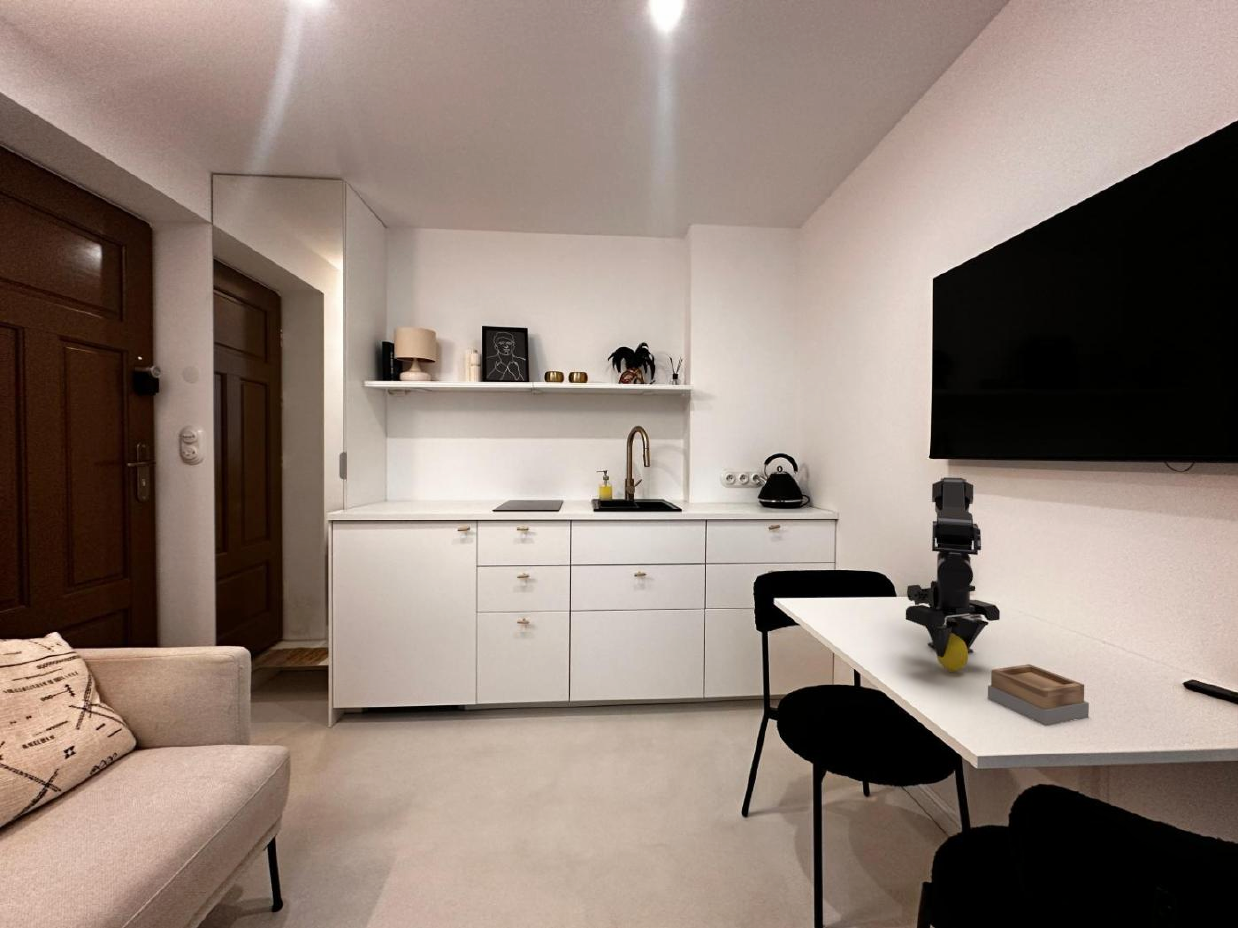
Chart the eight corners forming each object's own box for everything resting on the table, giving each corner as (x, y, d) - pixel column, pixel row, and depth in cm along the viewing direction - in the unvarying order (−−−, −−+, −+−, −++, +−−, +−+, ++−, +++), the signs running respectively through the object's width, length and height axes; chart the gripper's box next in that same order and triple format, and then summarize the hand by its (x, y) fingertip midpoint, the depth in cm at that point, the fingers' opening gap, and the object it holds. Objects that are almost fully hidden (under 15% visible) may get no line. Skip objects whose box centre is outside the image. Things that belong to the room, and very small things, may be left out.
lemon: (963, 668, 111) (964, 630, 111) (971, 679, 106) (971, 639, 105) (932, 665, 113) (933, 627, 113) (939, 675, 107) (939, 635, 107)
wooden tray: (1028, 680, 100) (1029, 664, 100) (1084, 702, 91) (1084, 684, 91) (991, 686, 97) (991, 669, 97) (1044, 709, 88) (1044, 691, 88)
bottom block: (1028, 694, 100) (1028, 678, 100) (1088, 720, 91) (1088, 702, 91) (987, 701, 98) (987, 685, 97) (1045, 729, 88) (1045, 710, 88)
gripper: (953, 567, 119) (952, 637, 120) (885, 572, 114) (884, 645, 114) (1002, 579, 109) (1000, 655, 109) (929, 585, 103) (928, 665, 103)
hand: (951, 654), depth 109 cm, fingers closed on lemon, 5 cm apart
